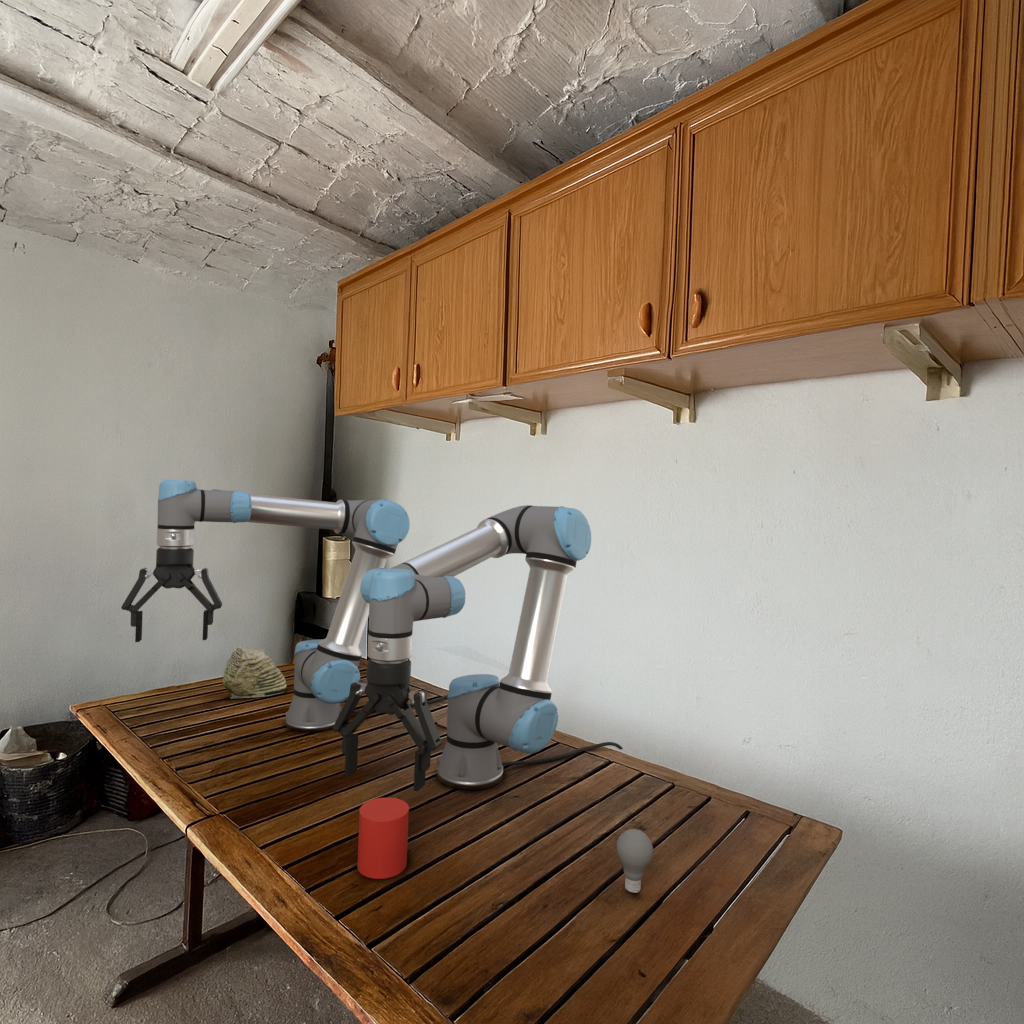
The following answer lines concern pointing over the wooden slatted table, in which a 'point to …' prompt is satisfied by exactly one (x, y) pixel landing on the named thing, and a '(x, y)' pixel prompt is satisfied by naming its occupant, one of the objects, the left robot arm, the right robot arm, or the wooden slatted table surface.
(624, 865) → the light bulb
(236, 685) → the fossil
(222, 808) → the wooden slatted table surface
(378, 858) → the can
